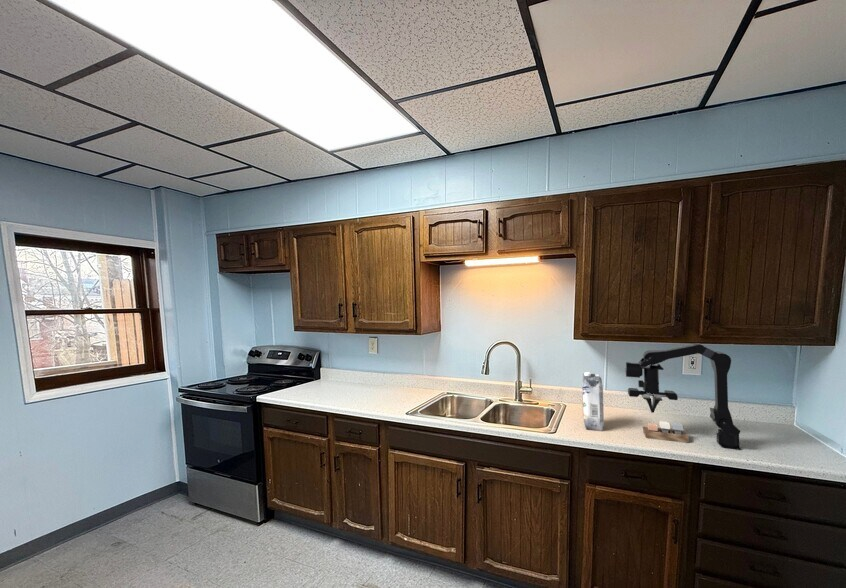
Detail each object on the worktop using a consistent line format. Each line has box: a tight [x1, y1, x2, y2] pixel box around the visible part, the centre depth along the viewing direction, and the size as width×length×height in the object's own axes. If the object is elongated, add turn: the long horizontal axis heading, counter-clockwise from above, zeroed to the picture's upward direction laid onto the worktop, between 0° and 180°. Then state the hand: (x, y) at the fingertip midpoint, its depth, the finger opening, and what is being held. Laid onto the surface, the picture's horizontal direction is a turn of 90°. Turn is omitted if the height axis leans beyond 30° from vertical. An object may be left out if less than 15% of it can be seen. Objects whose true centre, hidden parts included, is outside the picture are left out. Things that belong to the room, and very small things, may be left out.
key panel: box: [642, 426, 690, 444], centre depth 161 cm, size 16×7×3 cm, turn 67°
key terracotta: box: [646, 422, 659, 432], centre depth 162 cm, size 3×3×5 cm
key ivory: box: [658, 420, 671, 433], centre depth 161 cm, size 3×3×5 cm
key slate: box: [671, 422, 684, 434], centre depth 159 cm, size 3×3×5 cm
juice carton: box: [581, 371, 605, 432], centre depth 175 cm, size 9×10×27 cm
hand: (652, 412), depth 162 cm, fingers closed
